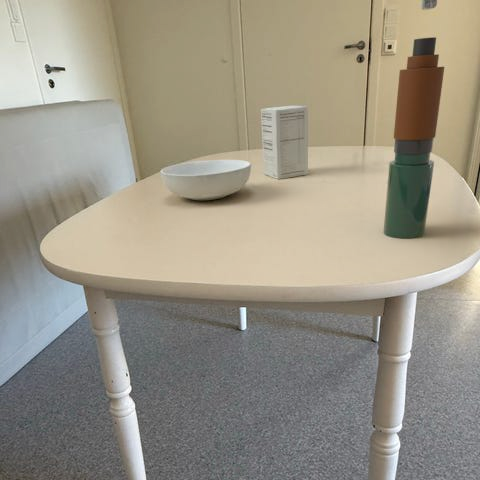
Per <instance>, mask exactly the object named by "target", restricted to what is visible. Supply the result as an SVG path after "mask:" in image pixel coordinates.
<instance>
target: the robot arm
mask: <svg viewBox="0 0 480 480" xmlns="http://www.w3.org/2000/svg"><path fill="white" fill-rule="evenodd" d="M437 6H438V0H420V9H421V10H422V11H427V10H428V11H429V10H432V9H435V8H436V7H437Z"/></svg>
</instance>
